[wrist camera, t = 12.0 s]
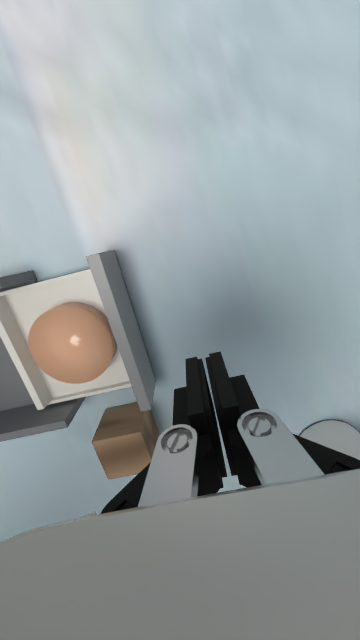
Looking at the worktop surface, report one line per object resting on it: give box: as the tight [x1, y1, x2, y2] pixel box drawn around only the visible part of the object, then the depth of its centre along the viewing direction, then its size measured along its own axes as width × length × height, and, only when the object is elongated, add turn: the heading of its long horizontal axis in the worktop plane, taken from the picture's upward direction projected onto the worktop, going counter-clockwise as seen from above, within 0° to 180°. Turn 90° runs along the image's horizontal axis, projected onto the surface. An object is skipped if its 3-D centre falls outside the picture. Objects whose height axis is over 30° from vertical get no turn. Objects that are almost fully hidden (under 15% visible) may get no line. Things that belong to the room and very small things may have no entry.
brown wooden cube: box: [92, 402, 159, 479], centre depth 27 cm, size 5×5×5 cm
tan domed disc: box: [28, 302, 117, 384], centre depth 24 cm, size 8×8×2 cm
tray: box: [0, 250, 156, 412], centre depth 24 cm, size 13×14×5 cm
